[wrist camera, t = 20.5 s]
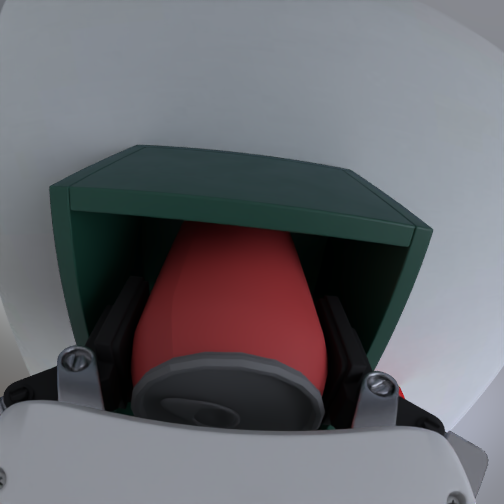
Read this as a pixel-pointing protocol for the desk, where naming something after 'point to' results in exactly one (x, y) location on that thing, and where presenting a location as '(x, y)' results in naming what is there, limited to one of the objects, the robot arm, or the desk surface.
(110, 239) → the box
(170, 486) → the robot arm
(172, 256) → the beer can
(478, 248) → the desk surface
